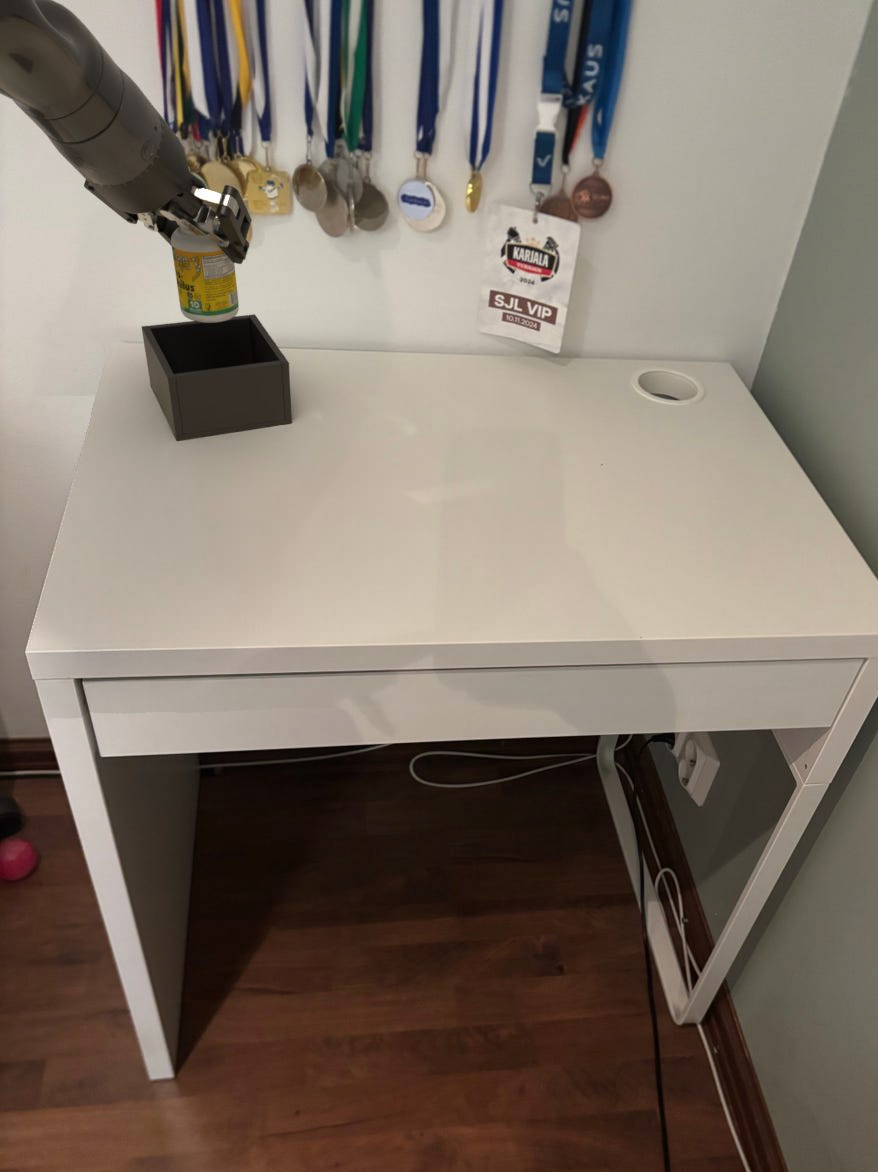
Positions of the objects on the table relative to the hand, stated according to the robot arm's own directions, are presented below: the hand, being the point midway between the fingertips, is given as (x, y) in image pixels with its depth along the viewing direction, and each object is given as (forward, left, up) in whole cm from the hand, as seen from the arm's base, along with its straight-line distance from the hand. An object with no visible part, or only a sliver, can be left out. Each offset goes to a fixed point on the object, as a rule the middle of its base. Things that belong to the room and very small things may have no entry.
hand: (211, 247), depth 88 cm
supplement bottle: (-1, -1, -6) cm, 6 cm away
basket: (-1, -1, -15) cm, 15 cm away
